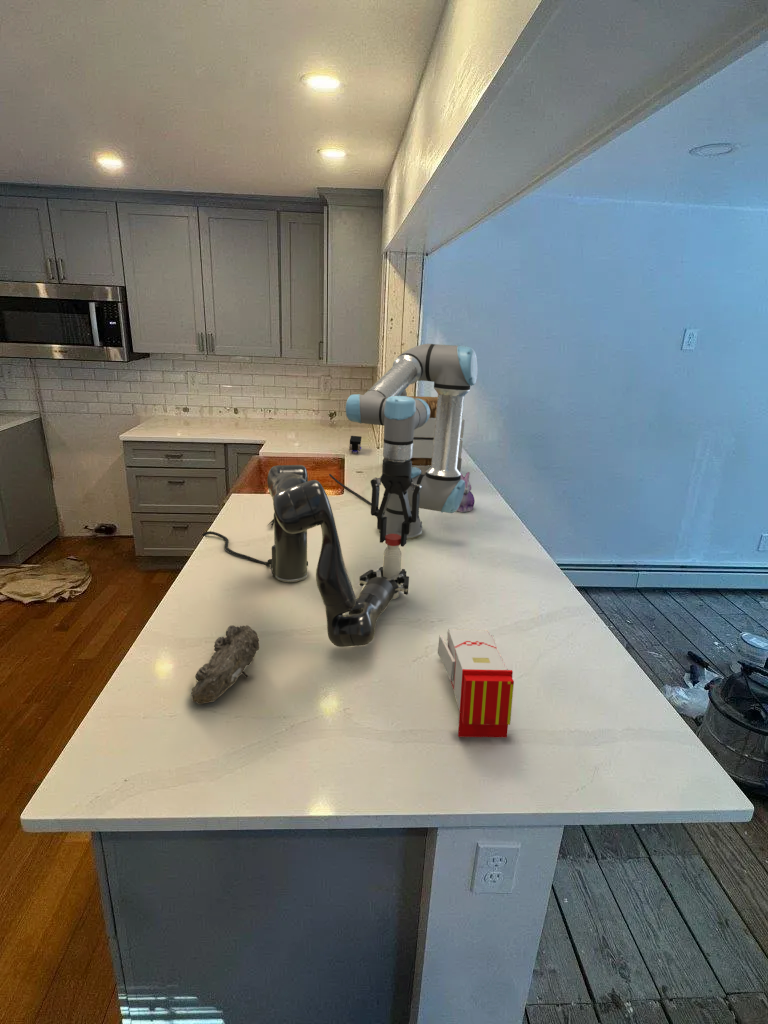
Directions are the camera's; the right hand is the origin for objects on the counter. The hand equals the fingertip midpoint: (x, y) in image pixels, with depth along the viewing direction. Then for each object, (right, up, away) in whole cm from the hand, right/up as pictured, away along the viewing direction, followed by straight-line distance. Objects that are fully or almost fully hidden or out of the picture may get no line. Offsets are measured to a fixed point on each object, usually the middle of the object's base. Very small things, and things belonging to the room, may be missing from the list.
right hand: (393, 542), depth 152 cm
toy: (+15, -29, -33) cm, 47 cm away
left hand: (0, -8, +6) cm, 10 cm away
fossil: (-35, -27, -32) cm, 54 cm away
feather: (-42, +7, +59) cm, 73 cm away
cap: (0, +1, 0) cm, 1 cm away
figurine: (+30, +9, +76) cm, 82 cm away
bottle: (-1, -15, +5) cm, 16 cm away
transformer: (+15, +27, +123) cm, 127 cm away
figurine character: (-18, +41, +158) cm, 164 cm away
